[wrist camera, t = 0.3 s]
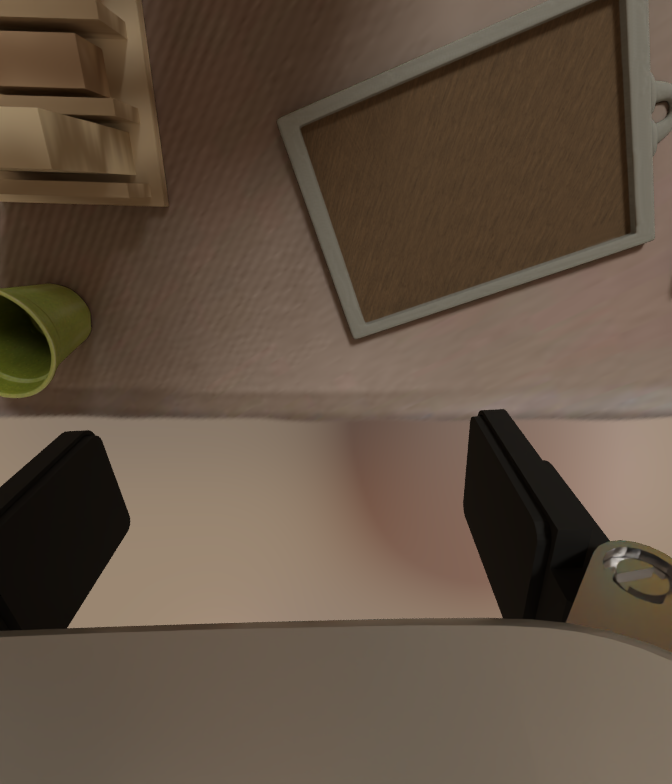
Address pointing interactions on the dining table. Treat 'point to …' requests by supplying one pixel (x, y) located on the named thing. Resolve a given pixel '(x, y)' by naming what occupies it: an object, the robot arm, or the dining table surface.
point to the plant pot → (38, 335)
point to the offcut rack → (95, 103)
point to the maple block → (61, 144)
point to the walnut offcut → (51, 65)
